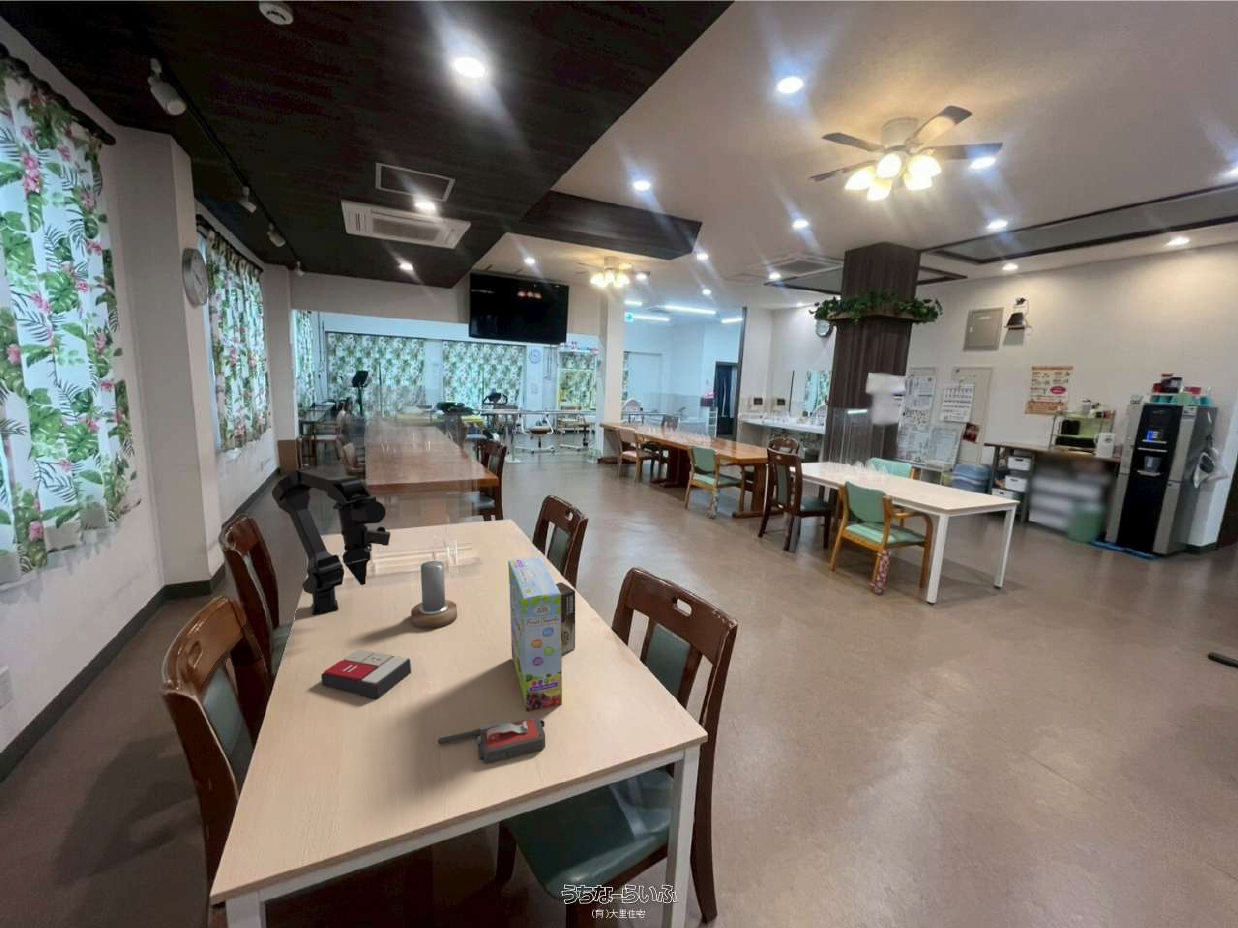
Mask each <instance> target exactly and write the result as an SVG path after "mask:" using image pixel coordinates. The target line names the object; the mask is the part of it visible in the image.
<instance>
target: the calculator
mask: <svg viewBox="0 0 1238 928" xmlns="http://www.w3.org/2000/svg"><path fill="white" fill-rule="evenodd" d="M411 665H412V664H411V659H410V658H406V657H401V656H396V655H395V656H394V655H392V654H389V653H388V654H387V653H382V652H374V651H372V650H365V649H360V648H359V649H357V650H355V651H353V652H351V653H350V654H348V655H347V656H346V657H344V658H343V660H340V661H338V662H337V663H335V664H333V665H331V666H330V667H329V668H327V669H325V671H324V672H323V673H321V674H320V677H321V684H322V687H325V688H329V689H334V690H337V691H341V692H346V693H350V694H357V695H359V696H361V697H364V698H368V699H372V700H375V701H376V700H379V699H380V698H382V697H383V696H384V695H386V694H387V693H388V692H389V691H390V690H392V689H393V688H394V687H396V685H398V684H399V683H400V682H401V681H403V680H404V679H406V678H407V677H408V676H409V675H411V673H412V668H411V667H412V666H411Z"/></svg>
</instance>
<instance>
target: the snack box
mask: <svg viewBox="0 0 1238 928" xmlns="http://www.w3.org/2000/svg"><path fill="white" fill-rule="evenodd" d="M507 563H508V582H509V606H510V607H509V608H510V613H509V614H510V634H511V636H510V638H511V641H510V642H511V658H512V662H513V665H514V669H515V672H516V676H517V680H518V683H519V688H520V692H521V694H522V695H521V696H522V699H523V703H524V706H525V711H526V712H528V711H533V710H537V709H542V708H547V707H550V706H557V705H558V706H559V705H562V704H563V689H562V687H563V683H562V681H563V679H562V678H563V677H562V668H563V667H562V665H563V664H562V662H563V661H562V660H563V659H562V655H563V654H562V651H561V593H560V591H559V589H558V587H557V586H556V584H557V583H556V581H555V580H554V579H553V577H552V575H551V574H550V572H549V570H548V568H547V567H546V564H545V562H544V561H543V559H542V557H541V556H534V557H527V558H526V557H525V558H513V559H508V561H507Z"/></svg>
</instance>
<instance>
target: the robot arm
mask: <svg viewBox="0 0 1238 928" xmlns="http://www.w3.org/2000/svg"><path fill="white" fill-rule="evenodd" d="M312 489H316V490H319V491H322V492H325V493H326V495H327V497H328V498H329V499H331V500H333V501H335V503H334V504H333V506H332V509H333V510H337V512H338V513H337V514H338V518H339V523H340V527H341V528H340V529H341V531H340V533H341V536H342V538H343V543H344V546H343V547H344V552H343V554H342V555H341V556H342V557H341V558H342V562H343V564H344V565H343V564H342V562H341V560H340V557H339V556H338V555H337V554H334V555H333V554H331V553H330V552H329V551H328V549H327V548H326V547H327V546H326V545H325V542H324V541H323V538H322V536H321V533H320V531H319V528H318V526H317V524H316V522H315V520H314V517H313V515H312V513H311V510H310V509H309V505H310V500H311V495H310V494H311V493H310V491H311V490H312ZM271 495H272V498H273V499H274V501H275V503H276V504H277V506H278V508H279V509H281V510H282V511H284V512H286V513H287V514H288V515H289V517H290V519H291V521H292V523H293V526H294V527H295V530H296V532H297V535H298V537H299V540H300V542H301V544H302V547H303V549H304V551H305V553H306V556H307V558H308V564H307V568H306V572H307V578H306V579H305V580H304V582H303V583H302V584H301V585H302V588H303V591H304V592H305V593H307V594H310V595H312V604H311V614H312V615H318V614H323V613H327V612H333V611H338V610H339V604H338V600H337V599H336V587H338V586H341V585H343V581H344V576H345V569H344V566H345V567H346V568H347V569H348V570H349V572H350V573H351V574H352V575H353V577H354V578H355V579H356V580H357V582H358V583H359V585H361V586H364V585H366V583H367V582H366V578H367V575H368V574H367V573H368V571H367V570H368V569H367V568H368V564H369V561H371V559H372V554H371V553H372V551H373V550H372V547H373V545H382V546H383V547H384V546H389V543H390V539H391V532H390V531H386V527H385V526H378V527H377V529H368V524H369V525H370V524H378V523H381V522H382V521H383V520H384V519H385V517H386V513H387V512H386V507H385V506H384V505H383V503H382V502H380V501H378V500H377V497H376V496H372V495H371V492H370V491H369V489H367V488H366V486H365V485H364V483H363V482H362V481H361V479H360V478H359V477H358V476H355V475H345V476H344V475H342V476H336V475H333V474H329V473H325V472H323V471H322V472H321V471H318V470H315V469H313V468H312V467H303V468H297V469H296V468H295V469H294V470H291V472H289V474H288V475H286V476H285V477H284V478H282V479H281V480H279V481H277V483H276V484H275V486H274V487H273V488H272V490H271ZM366 524H367V525H366ZM372 544H373V545H372Z"/></svg>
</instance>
